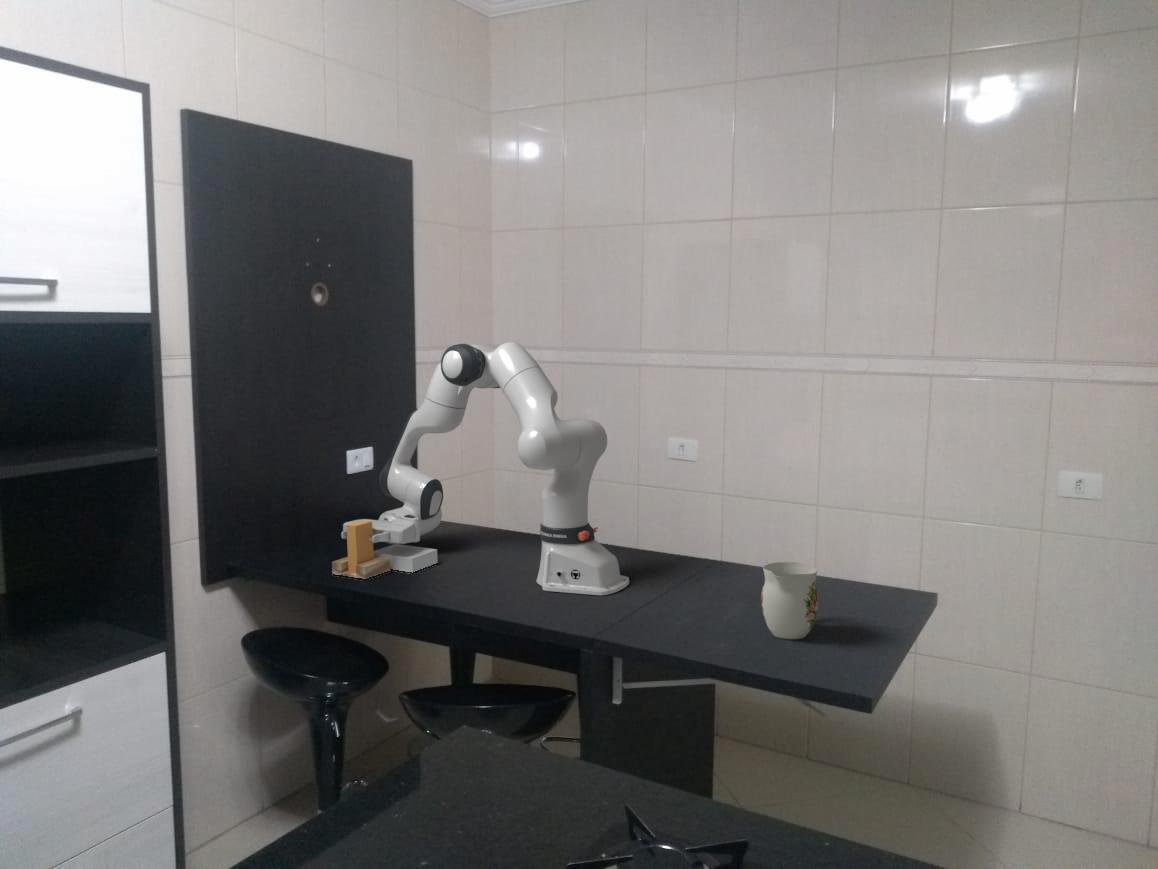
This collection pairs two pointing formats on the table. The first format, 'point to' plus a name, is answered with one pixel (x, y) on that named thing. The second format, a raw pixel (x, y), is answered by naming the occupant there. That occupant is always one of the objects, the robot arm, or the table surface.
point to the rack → (361, 568)
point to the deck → (408, 557)
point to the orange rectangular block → (359, 544)
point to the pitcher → (789, 599)
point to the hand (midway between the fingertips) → (357, 537)
